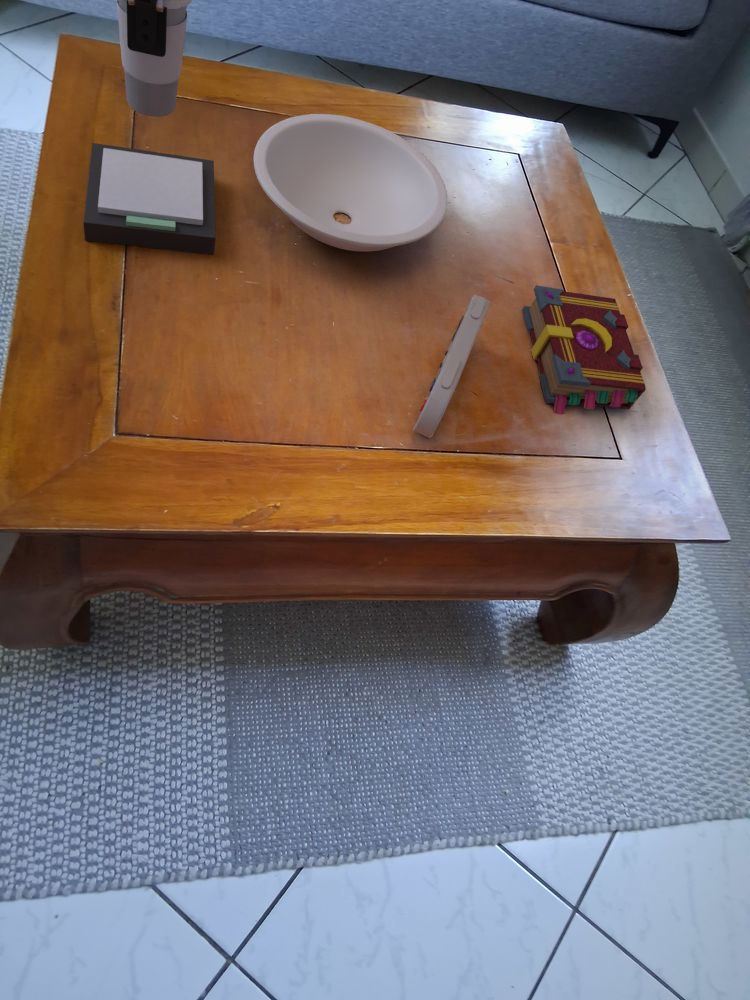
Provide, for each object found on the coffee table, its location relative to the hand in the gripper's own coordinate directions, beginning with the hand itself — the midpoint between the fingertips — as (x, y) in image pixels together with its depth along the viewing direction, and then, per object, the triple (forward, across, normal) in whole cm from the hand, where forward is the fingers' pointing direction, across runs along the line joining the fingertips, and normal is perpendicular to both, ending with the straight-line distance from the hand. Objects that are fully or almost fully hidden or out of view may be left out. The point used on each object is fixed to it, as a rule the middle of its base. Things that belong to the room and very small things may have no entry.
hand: (151, 27), depth 69 cm
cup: (+7, 0, 0) cm, 7 cm away
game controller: (+23, +18, +34) cm, 44 cm away
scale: (+23, -4, 0) cm, 23 cm away
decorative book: (+23, +11, +52) cm, 58 cm away
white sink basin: (+23, -8, +23) cm, 33 cm away
